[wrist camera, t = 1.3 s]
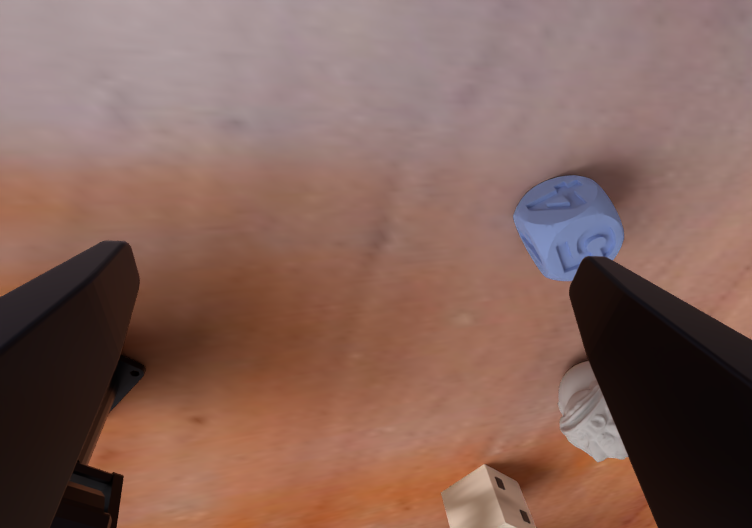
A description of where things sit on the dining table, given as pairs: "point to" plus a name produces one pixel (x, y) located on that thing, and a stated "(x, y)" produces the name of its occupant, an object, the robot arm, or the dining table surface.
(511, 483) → the birch pip block
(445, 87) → the dining table surface
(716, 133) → the dining table surface
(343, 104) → the dining table surface
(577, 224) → the decorative dice
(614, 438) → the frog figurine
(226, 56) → the dining table surface
